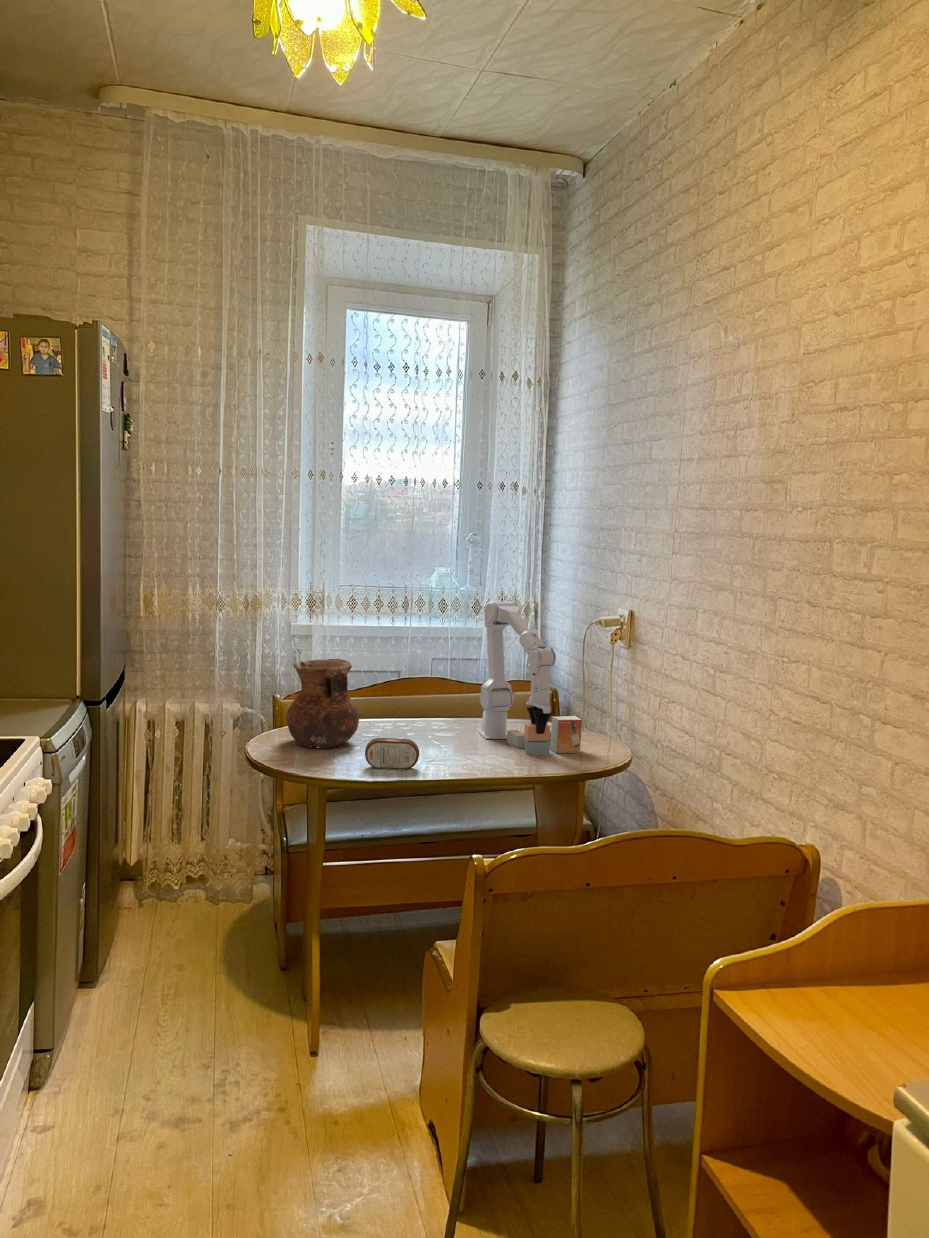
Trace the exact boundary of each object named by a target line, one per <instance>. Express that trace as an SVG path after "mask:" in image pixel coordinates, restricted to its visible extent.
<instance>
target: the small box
mask: <svg viewBox="0 0 929 1238" xmlns="http://www.w3.org/2000/svg"><path fill="white" fill-rule="evenodd" d="M582 724H583V719H581V718H580V717H578V716H576V715H572V716H571V715H568V716H567V715H566V716H563V715H562V716H552V715H551V724H550V725H551V726H550V732H551V741H550V751H552V752H553V753H555V754H580V753H581V744H582V743H581V742H582V727H583V725H582Z"/></svg>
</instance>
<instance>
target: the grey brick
mask: <svg viewBox="0 0 929 1238" xmlns="http://www.w3.org/2000/svg"><path fill="white" fill-rule="evenodd" d="M506 734H507V739H506V744H508V743H509V745H510V746H512V747H515V748H516V749H521V748H525V738H524V732H522V731H520V730H518V729H512V730H506Z"/></svg>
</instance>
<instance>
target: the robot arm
mask: <svg viewBox="0 0 929 1238" xmlns="http://www.w3.org/2000/svg"><path fill="white" fill-rule="evenodd" d="M483 613H484V615H483V616H484V618H483V619H484V627H485V629H486V630H485V631H486V652H487V653H486V654H487V672H488V673H487V675H488V677H487V679H488V680H486V681H485V682H484V683H483V684H482V685H481V687H480V688H481V689H480V690H481V691H480V695H479V703H480V705H481V707H482V710H483V711H482V712H483V713H482V720H481V721H482V722H481V723H482V724H481V725H482V726H481V730H479V731H478V733H479V734H480V735H481V736H482V737H484V739H486V740H507V727H508V723H507V722H508V711H509V710H510V707H512V705H513V704H514V700H515V699H514V698H515V697H514V693H513V690H512V685H511V683H510V682H508V681H507V680H506V677H505V675H506V674H505V655H504V651H505V650H504V630H505V629H506V627H508V626H510V627H511V628H512V630H513V631H515V633H516V634H517V635H518V636H519V644H520V645H521V646H522V648H523V649H524V650H525V652H526V654H527V655H528V656H527V657H528V663H529V670H530V672H531V676H530V677H531V680H530V696H529V697H528V701H526V703H525V704H526V705H528V706H526V710H527V712H528V715H529V718H530V724H536V732H537V734H544V732H545V728H546V725H548V722H549V721H550V720H549V719H550V718H551V717H552V715H553V711H551V710H552V708H551V702H550V694H551V693H550V691H551V674H552V672H551V671H552V667H554V665H555V663H556V660H557V657H556V653H555V651H554V649H553V647H551V646H547V645H545V643H544V642H543V641H542V640H541V638H540V637H539V635H538V633H537V631H535V630H530V629H529V628H528V626H527V624H526V622H525V621H524V619H523V617H522V615H521V606H519V604H518V603H517V601H514V600H511V601H492V600H491V601H488V602H487V603H486V605H485V606H484V608H483Z"/></svg>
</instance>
